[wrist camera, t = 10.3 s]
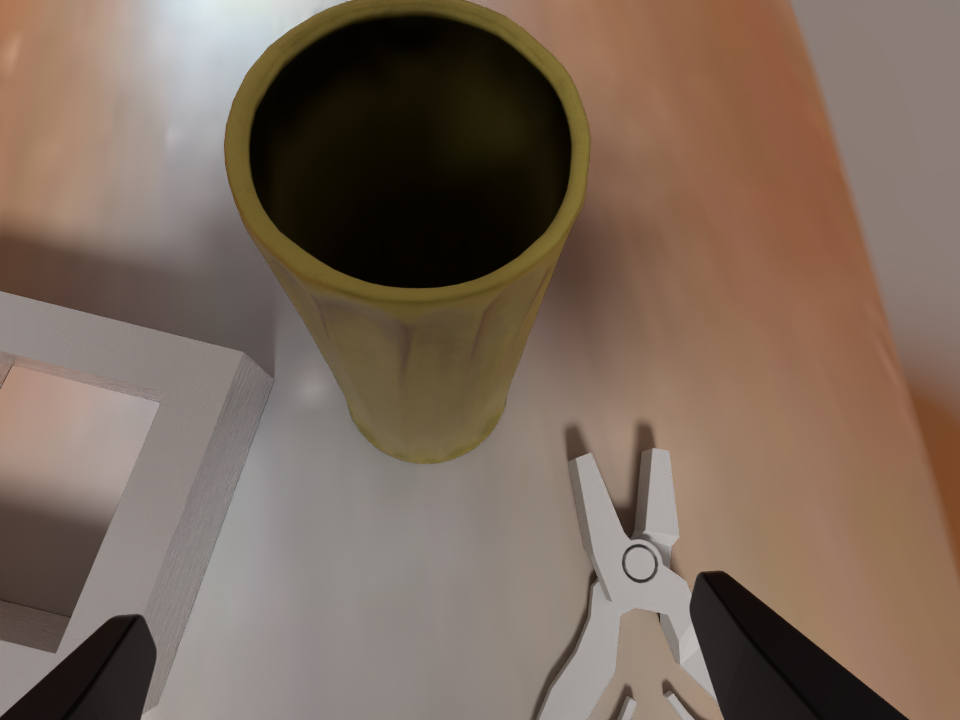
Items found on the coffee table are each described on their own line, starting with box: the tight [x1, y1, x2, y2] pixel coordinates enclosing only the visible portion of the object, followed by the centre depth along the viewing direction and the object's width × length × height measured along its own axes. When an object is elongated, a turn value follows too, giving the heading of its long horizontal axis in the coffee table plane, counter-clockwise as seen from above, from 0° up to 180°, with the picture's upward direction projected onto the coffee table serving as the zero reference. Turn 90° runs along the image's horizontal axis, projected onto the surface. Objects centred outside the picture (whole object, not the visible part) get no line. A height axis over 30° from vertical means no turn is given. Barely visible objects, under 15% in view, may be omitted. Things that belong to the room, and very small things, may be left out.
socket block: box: [0, 291, 274, 717], centre depth 18 cm, size 11×11×4 cm
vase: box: [224, 0, 591, 464], centre depth 15 cm, size 6×6×14 cm
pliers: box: [536, 448, 718, 720], centre depth 19 cm, size 10×2×15 cm
